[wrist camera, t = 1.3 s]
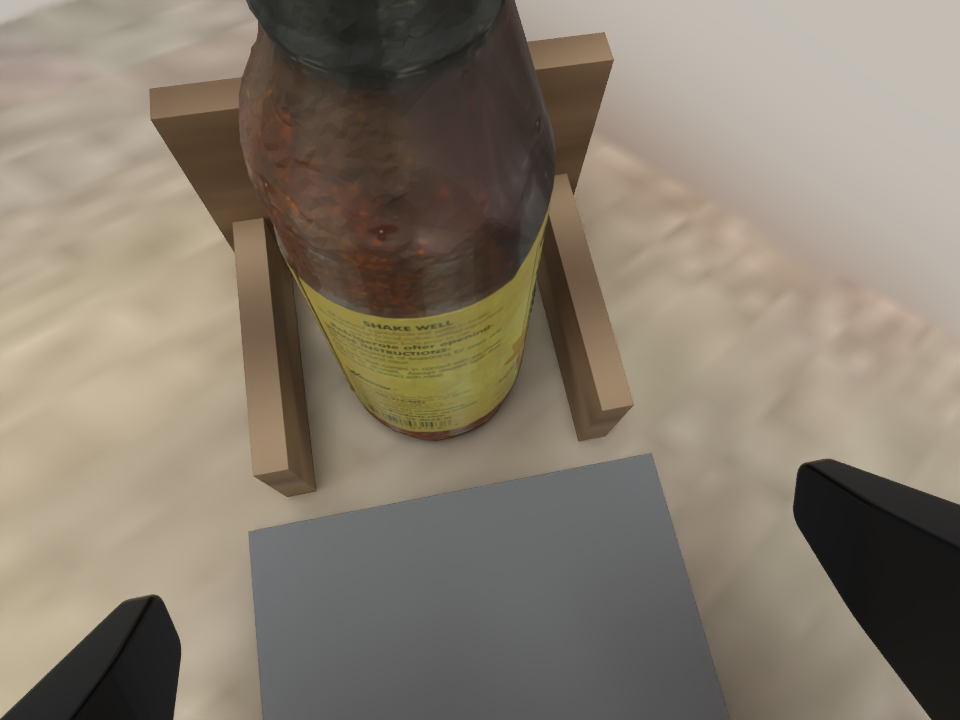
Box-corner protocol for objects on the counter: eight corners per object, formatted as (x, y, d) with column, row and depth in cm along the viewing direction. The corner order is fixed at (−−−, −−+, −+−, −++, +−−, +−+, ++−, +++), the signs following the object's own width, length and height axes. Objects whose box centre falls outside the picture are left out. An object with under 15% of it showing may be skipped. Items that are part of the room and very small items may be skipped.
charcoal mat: (740, 771, 20) (745, 774, 20) (279, 887, 19) (276, 893, 18) (648, 455, 23) (651, 452, 23) (251, 532, 22) (248, 532, 22)
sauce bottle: (550, 384, 24) (874, -341, 6) (408, 481, 23) (205, -59, 4) (450, 255, 26) (442, -630, 7) (312, 337, 24) (-138, -502, 6)
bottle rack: (618, 433, 24) (710, 340, 15) (271, 499, 22) (161, 437, 14) (556, 211, 27) (604, 32, 18) (249, 258, 25) (149, 89, 17)
